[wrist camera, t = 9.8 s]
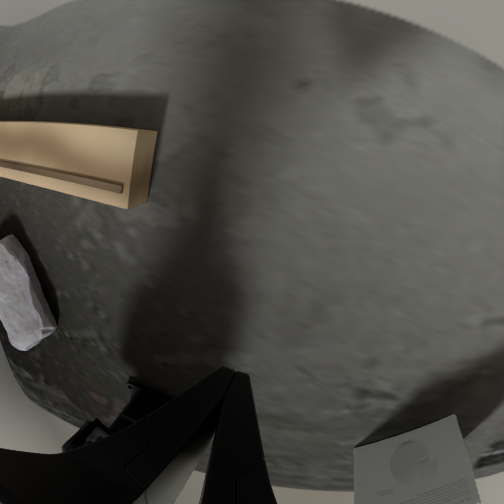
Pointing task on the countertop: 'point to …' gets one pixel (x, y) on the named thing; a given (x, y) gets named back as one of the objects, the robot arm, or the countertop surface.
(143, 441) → the robot arm
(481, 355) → the countertop surface
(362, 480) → the skincare box
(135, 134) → the wooden grooved rail
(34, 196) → the countertop surface
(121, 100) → the countertop surface
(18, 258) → the stone block
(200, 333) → the countertop surface
